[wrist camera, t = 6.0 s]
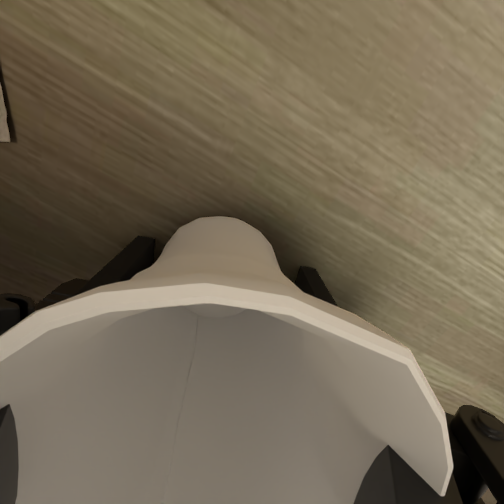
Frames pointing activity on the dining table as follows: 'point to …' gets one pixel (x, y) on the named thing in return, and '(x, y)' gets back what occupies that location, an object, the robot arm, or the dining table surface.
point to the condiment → (3, 120)
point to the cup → (212, 387)
